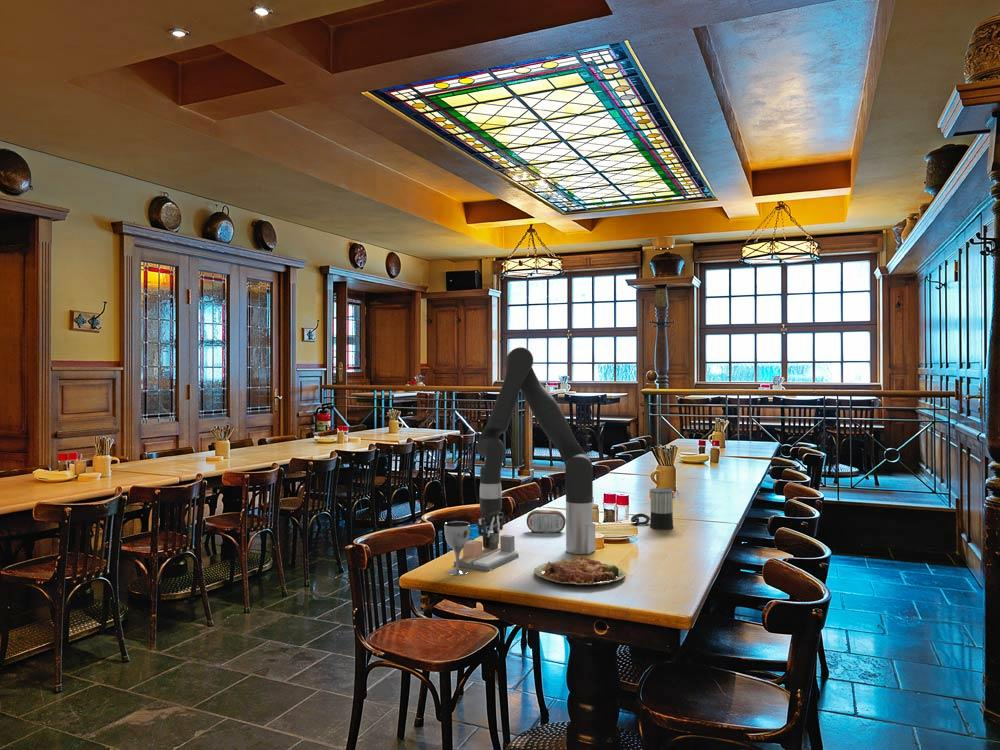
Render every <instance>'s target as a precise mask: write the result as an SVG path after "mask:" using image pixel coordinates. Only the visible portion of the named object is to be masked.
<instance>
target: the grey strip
mask: <svg viewBox="0 0 1000 750" xmlns="http://www.w3.org/2000/svg"><path fill="white" fill-rule="evenodd" d="M499 544H500V548H499V549H500V550H499V551H497V552H494V553H492V554H490V555H487V556H485V557H483V558H480V559H478V560H476V561H473V564H474V565H480V566H486V567H488V566H490V565H492V564H495V563H497V562H499V561H501V560H503V559H506V558H508V557H510V556H512V555H514V554H516V553H517V550H515V547H516V546H515V545H516V544H515V535H512V534H511V535H508V534H502V535H499Z"/></svg>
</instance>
